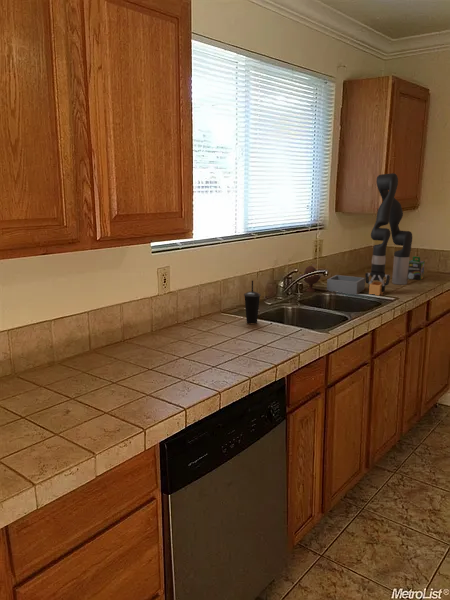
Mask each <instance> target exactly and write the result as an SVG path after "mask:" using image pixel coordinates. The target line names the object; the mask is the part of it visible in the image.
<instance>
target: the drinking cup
mask: <svg viewBox="0 0 450 600" xmlns="http://www.w3.org/2000/svg"><path fill="white" fill-rule="evenodd" d="M243 296H244V306H245V307H244V308H245V317H246V318H245V321H246V324H248V323H256V324H258V319H259V318H258V317H259V308H260V300H261V293H259V292H257V291H254V280H251V290H250V291H247V292H245V293H244V294H243Z"/></svg>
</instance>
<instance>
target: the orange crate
mask: <svg viewBox="0 0 450 600" xmlns="http://www.w3.org/2000/svg"><path fill="white" fill-rule="evenodd" d="M383 293H384V292H382V283H381V282H380V281H376V280H374V281H373V282H372V283H371V284H368V295H370V294H375V295H374V296H381V295H382V294H383ZM380 294H381V295H380Z"/></svg>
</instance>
